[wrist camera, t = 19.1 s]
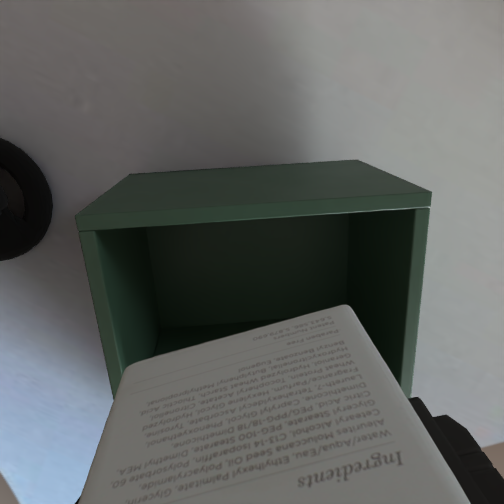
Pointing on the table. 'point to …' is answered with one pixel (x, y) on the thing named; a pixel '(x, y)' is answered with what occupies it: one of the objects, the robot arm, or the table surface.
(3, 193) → the webcam
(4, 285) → the table surface
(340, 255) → the bin
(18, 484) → the table surface
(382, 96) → the table surface
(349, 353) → the product carton
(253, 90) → the table surface
